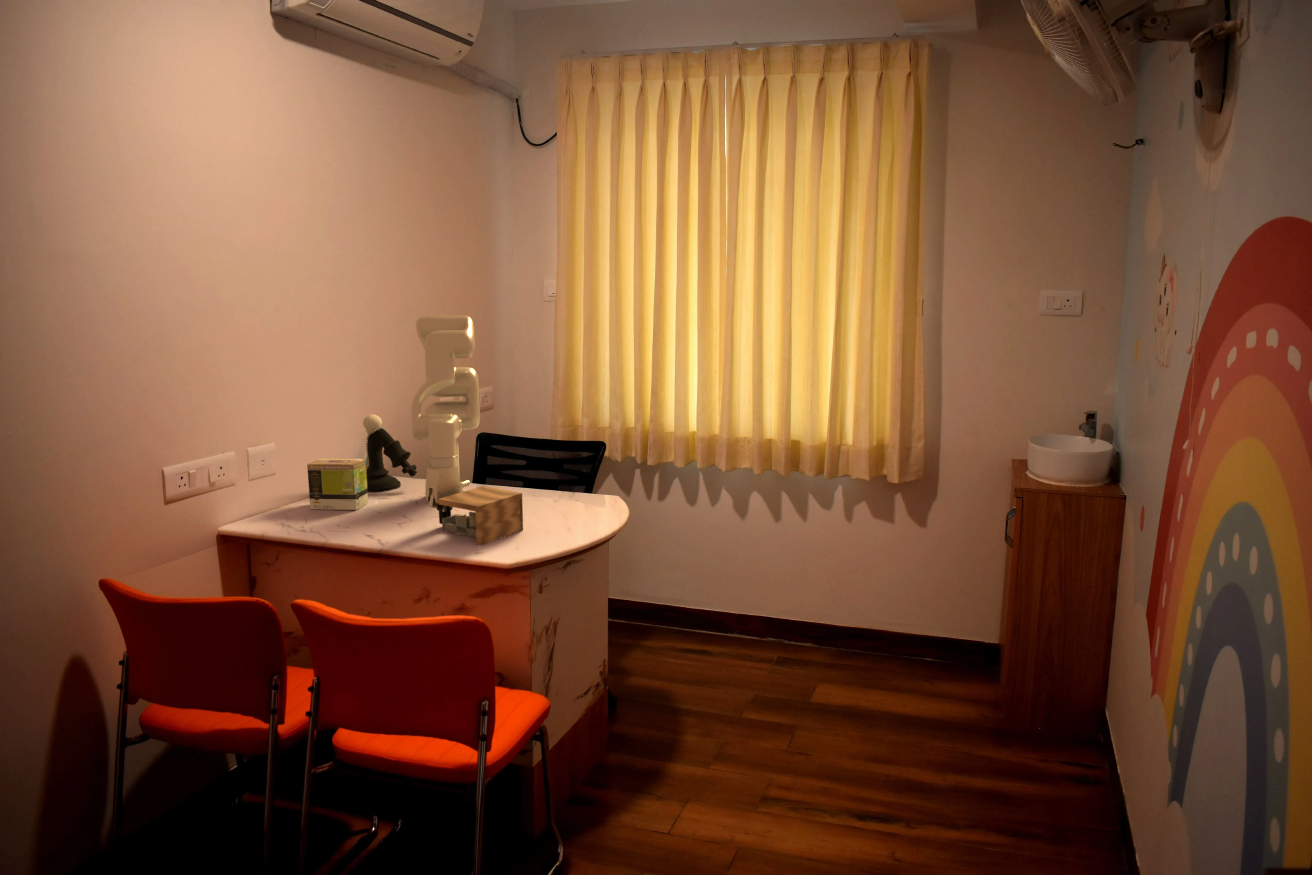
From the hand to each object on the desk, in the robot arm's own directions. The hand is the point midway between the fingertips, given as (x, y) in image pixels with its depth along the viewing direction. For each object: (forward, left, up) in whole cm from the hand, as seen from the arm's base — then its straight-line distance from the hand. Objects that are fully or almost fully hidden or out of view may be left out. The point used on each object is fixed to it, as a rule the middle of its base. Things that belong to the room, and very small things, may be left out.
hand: (445, 523), depth 265 cm
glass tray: (0, +9, -1) cm, 9 cm away
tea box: (+1, -45, -1) cm, 45 cm away
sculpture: (-24, -51, -1) cm, 56 cm away
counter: (-1, +13, -1) cm, 13 cm away
